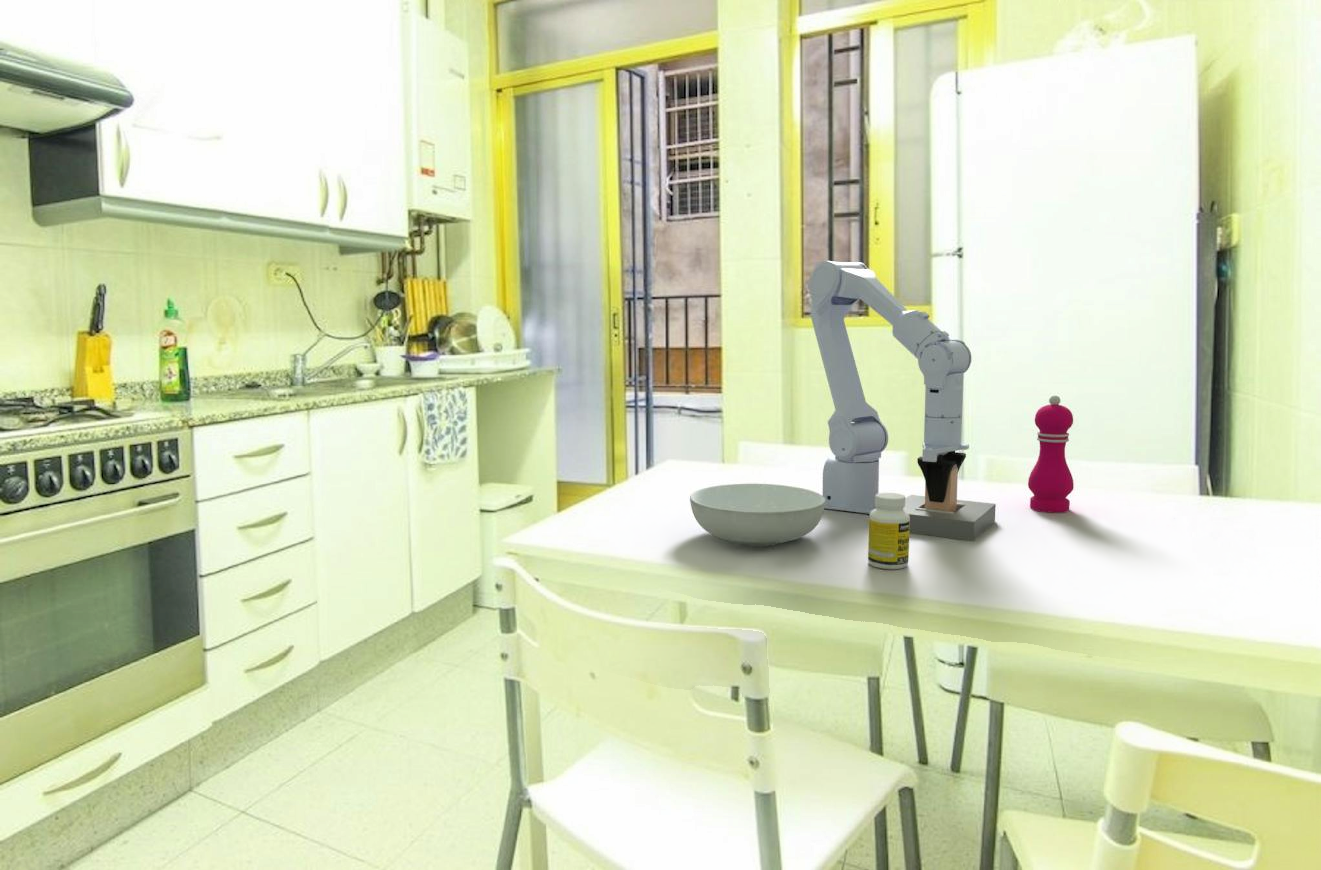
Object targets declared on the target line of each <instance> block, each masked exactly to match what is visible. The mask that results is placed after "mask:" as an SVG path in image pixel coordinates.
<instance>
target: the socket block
mask: <svg viewBox="0 0 1321 870" xmlns="http://www.w3.org/2000/svg"><path fill="white" fill-rule="evenodd" d="M996 506H997V505H996V503H993V502H992V503H990V502H984V501H983V502H981V501H972V500H965V499H964V500H962V499H957V510H956V512H955V513H954V512H949V511H940V510H931V509H925V495H916V494H910V495H908V496H907V497H905V507H903V510H904V511H906V512H907V513H908V514H909V516H910V529H909V534H918V535H924V536H925V535H926V536H930V537H931V536H934V537H939V538H947V539H954V540H963V541H969V542H970V541H971V542H974V541H976V539H977V538H979V537H980V536H981V535H982V534H983V533H984V532H985V531H987V529H989V528H990V527H991V526H992V525H993V524H994V523H995V522H996Z"/></svg>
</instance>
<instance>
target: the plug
mask: <svg viewBox="0 0 1321 870" xmlns="http://www.w3.org/2000/svg"><path fill="white" fill-rule="evenodd" d="M958 475H959V472H958V467H957V464H955V465H954V466H953V468H952V471H951V473H950V476H949V480H948V484H947V490H946V496H945V499H944V502H943V503H941V502H931V501H930V500H929V496H928V492H927V486H926V482H925V484H924V485H925V486H924V487H925V489H924V490H925V491H924V496H925V509H931V510H940V511H949V512H954V513H955V512H956V510H957V500H958V477H959V476H958Z"/></svg>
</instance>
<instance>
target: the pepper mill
mask: <svg viewBox="0 0 1321 870" xmlns="http://www.w3.org/2000/svg"><path fill="white" fill-rule="evenodd" d="M1048 402H1049V404H1046V405H1043V406H1042V407H1040V408H1039V409H1038V410H1037V411H1036V412H1035V416H1034V424H1035V425H1036V427H1037V428H1038V430H1039V431H1037V434H1036V435H1037V438H1036V439H1037V441H1039V454H1038V459H1036V460H1037V461H1036V463H1035V465H1034V467H1032V470H1031V472H1030V474H1029V477H1028V481H1027V487H1028V489H1029V491H1030V492H1031V493H1032V494H1033V496H1031V497H1030V499H1029V500H1030V501H1029V507H1030V509H1032V510H1033V511H1037V512H1042V513H1051V514H1052V513H1053V514H1062V513H1067V512H1069V511H1070V506H1071V505H1070V504H1071V503H1070V500H1069V498H1067V497H1068V496H1069V495H1070V494H1072V492H1073V490H1074V479H1073V475H1072V472H1071V470H1070V468H1069V466H1068V465H1069V464H1068V463H1067V458H1066V446H1067V445H1066V444H1067V442H1069V441H1070V439H1069V436H1070V433H1069V432H1068V431H1069V430H1070V429H1071V428H1072V426H1073V425H1074V415H1073V413H1072V411H1071V409H1069V408H1068V407H1066V406H1065V405H1061V404H1060V403H1061V398H1060V396H1058V395H1052V396H1050V398H1049V399H1048Z"/></svg>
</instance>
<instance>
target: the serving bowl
mask: <svg viewBox="0 0 1321 870" xmlns="http://www.w3.org/2000/svg"><path fill="white" fill-rule="evenodd" d="M689 501H690V507H691V511H692V514H693V517H694V518H695V521H696V523H698V525H699V526H700V527H701V528H702V529H703V530H704V531H705V532H707V533H709V534H710V535H712V536H714V537H717V538H719V539H721V540H724V541H725V540H726V541H728V542H733V543H735V544H740V545H744V546H750V547H751V546H754V547H761V546H762V547H763V546H765V547H766V546H773V545H778V544H782V543H786V542H791V541H794V540H798V539H800V538H802V537H803V538H804V537H805V536H806V535H808V534H809V533H811V532H812V531H813V530H815V528H816V527H817V526H818V525H819V523H820V522H821V519H822V518H823V514H824V511H825V508H824V507H825V501H826V500H825V498H824V497H823V494H820V493H818V492H816V491H814V490H811V489H807V488H803V487H797V486H792V485H782V484H772V483H732V484H731V483H730V484H722V485H721V484H719V485H714V486H713V485H712V486H708V487H705V488H704V487H703V488H701V489H699V490H696V491H694V492H692V493H691V494H690V496H689Z"/></svg>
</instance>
